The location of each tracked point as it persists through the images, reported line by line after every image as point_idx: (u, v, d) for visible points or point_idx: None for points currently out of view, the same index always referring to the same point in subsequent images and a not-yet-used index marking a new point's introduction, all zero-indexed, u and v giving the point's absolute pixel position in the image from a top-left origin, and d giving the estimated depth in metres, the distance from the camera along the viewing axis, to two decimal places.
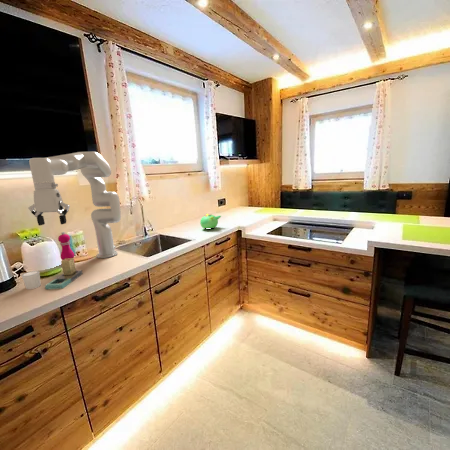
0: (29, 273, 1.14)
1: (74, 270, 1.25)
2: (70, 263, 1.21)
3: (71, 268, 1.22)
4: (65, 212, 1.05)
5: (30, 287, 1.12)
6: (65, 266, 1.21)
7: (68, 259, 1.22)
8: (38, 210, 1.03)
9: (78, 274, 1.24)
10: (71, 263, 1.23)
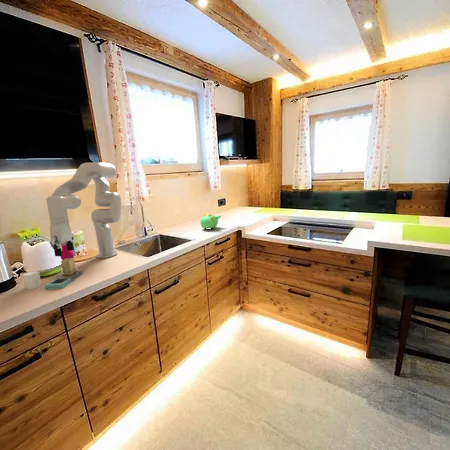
0: (29, 273, 1.14)
1: (74, 270, 1.25)
2: (70, 263, 1.21)
3: (71, 268, 1.22)
4: None
5: (30, 287, 1.12)
6: (65, 266, 1.21)
7: (68, 259, 1.22)
8: (62, 241, 1.16)
9: (78, 274, 1.24)
10: (71, 263, 1.23)
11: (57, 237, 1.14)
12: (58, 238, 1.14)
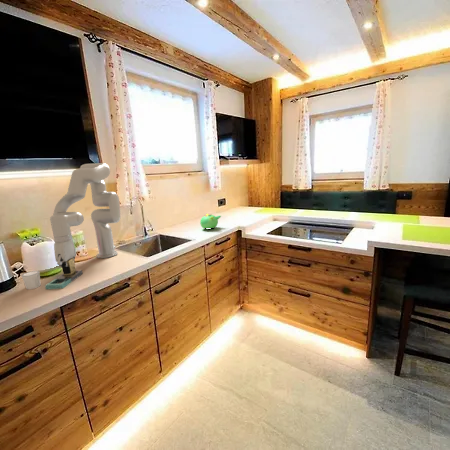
0: (29, 273, 1.14)
1: (74, 270, 1.25)
2: (70, 263, 1.21)
3: (71, 268, 1.22)
4: None
5: (30, 287, 1.12)
6: None
7: None
8: (66, 259, 1.18)
9: (78, 274, 1.24)
10: (71, 263, 1.22)
11: (61, 255, 1.16)
12: (62, 256, 1.16)
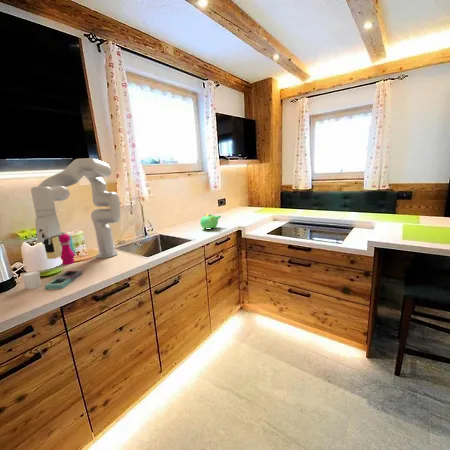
0: (29, 273, 1.14)
1: (59, 250, 1.13)
2: (54, 241, 1.10)
3: (55, 247, 1.11)
4: None
5: (30, 287, 1.12)
6: None
7: (52, 237, 1.11)
8: (49, 236, 1.07)
9: (78, 274, 1.24)
10: (55, 242, 1.11)
11: (43, 231, 1.05)
12: (44, 232, 1.05)
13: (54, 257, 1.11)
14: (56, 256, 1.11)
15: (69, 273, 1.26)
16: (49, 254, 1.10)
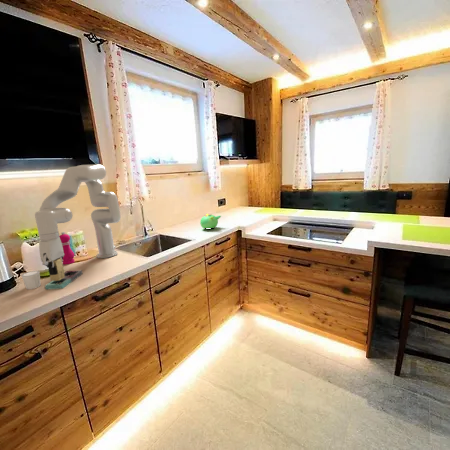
0: (29, 273, 1.14)
1: (62, 271, 1.15)
2: (57, 263, 1.12)
3: (58, 269, 1.12)
4: None
5: (30, 287, 1.12)
6: None
7: None
8: (53, 259, 1.09)
9: (78, 274, 1.24)
10: (59, 264, 1.13)
11: (47, 255, 1.07)
12: (48, 256, 1.07)
13: (58, 279, 1.12)
14: (60, 278, 1.13)
15: (69, 273, 1.26)
16: (53, 276, 1.12)
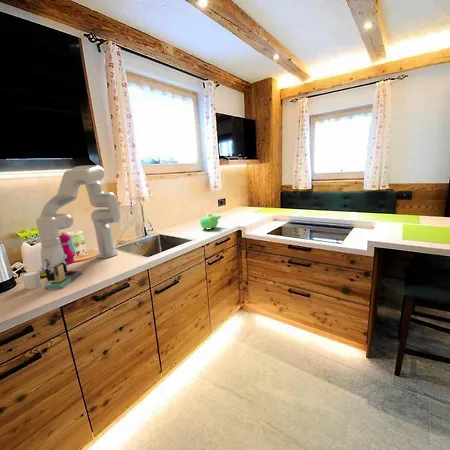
0: (29, 273, 1.14)
1: (64, 278, 1.16)
2: (59, 270, 1.13)
3: (60, 275, 1.13)
4: None
5: (30, 287, 1.12)
6: (54, 273, 1.12)
7: (57, 266, 1.13)
8: (54, 265, 1.09)
9: (78, 274, 1.24)
10: (60, 270, 1.14)
11: (48, 261, 1.07)
12: (50, 262, 1.08)
13: None
14: None
15: (69, 273, 1.26)
16: (54, 282, 1.13)
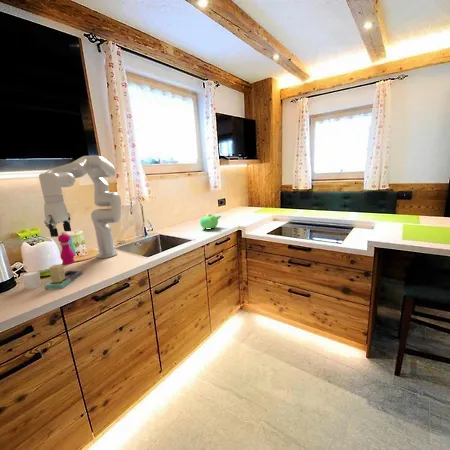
0: (29, 273, 1.14)
1: (64, 278, 1.16)
2: (59, 270, 1.13)
3: (60, 275, 1.13)
4: None
5: (30, 287, 1.12)
6: (54, 273, 1.12)
7: (57, 266, 1.13)
8: (58, 221, 1.10)
9: (78, 274, 1.24)
10: (60, 270, 1.14)
11: (52, 216, 1.08)
12: (53, 217, 1.08)
13: None
14: None
15: (69, 273, 1.26)
16: (54, 282, 1.13)
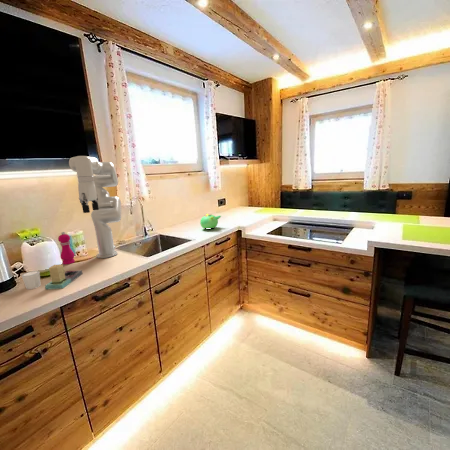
0: (29, 273, 1.14)
1: (64, 278, 1.16)
2: (59, 270, 1.13)
3: (60, 275, 1.13)
4: (97, 200, 1.35)
5: (30, 287, 1.12)
6: (54, 273, 1.12)
7: (57, 266, 1.13)
8: (89, 199, 1.24)
9: (78, 274, 1.24)
10: (60, 270, 1.14)
11: (85, 194, 1.22)
12: (86, 195, 1.22)
13: None
14: None
15: (69, 273, 1.26)
16: (54, 282, 1.13)
